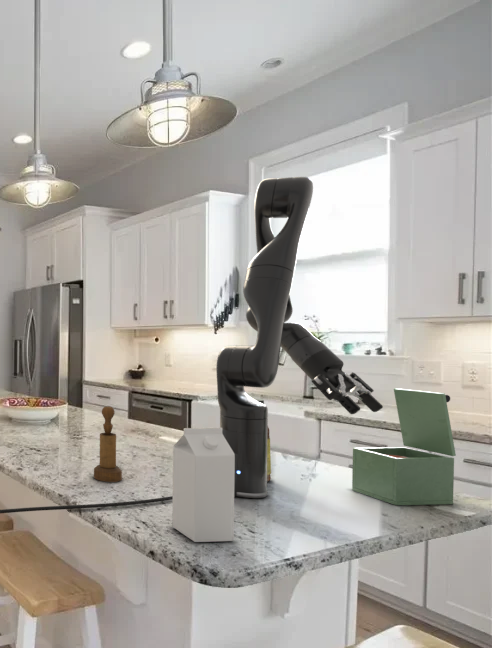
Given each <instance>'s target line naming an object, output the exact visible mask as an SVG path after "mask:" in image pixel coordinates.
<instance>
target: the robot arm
mask: <svg viewBox="0 0 492 648" xmlns="http://www.w3.org/2000/svg"><path fill="white" fill-rule="evenodd" d="M313 183H314V182H313V180H312V179H311V178H310V177H308V176H291V177H273V178H272V177H271V178H265V179H262V180H261V181H260V182H259V184H258V185H257V188H256V191H255V195H254V205H253V210H254V233H255V244H256V254H255V255H254V257H252V258H251V260H250V261H249V263H248V265H247V268H246V273H245V277H244V282H243V287H242V288H243V289H242V293H243V297H244V300H245V302H246V305H247V306H248V308H247V310H246V312H245V313H246V314H245V317H246V321H247V323H248V324H249V326H250V327H251V328H252V329H253V330H254V331H256V332H257V335H256V341H255V344H254V345H243V344H241V345H237V344H236V345H235V344H234V345H226V346H224V347H223V348H221V349H220V351H219V352H218V355H217V359H216V385H217V387H216V388H217V391H216V392H217V404H218V407H219V428H222V434H223V436H224V437H225V439H226V441H227V442H228V444H229V446H230V447H231V449H232V451H233V452H234V454H235V476H234V497H238V498H244V499H245V498H246V499H262V498H266V497H268V481H267V432H268V428H269V425H268V422H269V420H268V419H269V409H268V406H267V405H266V404H265V403H264V404H263V403H261V402H258V401H256V400H254V399H255V398H253V397H252V396H250V395H249V394H248V393H247V392H246V390H245V387H246V388H259V389H260V388H262V389H263V388H268V387H270V386H271V385H273V383H274V381H275V379H276V377H277V373H278V369H279V365H280V356H281V349H282V350H283V351H284V352H285V353H286V354H288V356H289V357H290V359H291V360H292V361H293V362H294V364H295V365H296V366H297V367H298V368H299V369H300V370H302V372H303V373H304V374H305V375H306V376H307V377H308V378H309V379H310V380H311V383H312V384H313V385H314V386H315V387H316V388H317V389H318V391H320V392H321V394H322V395H324V397H325V398H326V399H327V400H328V401H332V400H333V401H334V402H337V403H338V404H340V405H341V406H342V408H343V409H345V410H346V411H347V412H348V413H349V414H350V415H355V414H357V413H358V412H359V411H360V410H361V407H360V406H359V404H357V403H356V402H355V401H354V400H353V399H352V398H351V397H350V396H354V397H356V398H357V399H358V400H360V401H361V402H362V403H363V404H364V405H365V406H366V407H367V408H368V409H369V410H370V411H371V412H373V413H378V412H379V411H381V410H382V409H383V408H384V406H383V405H382V403H380V402H379V400H377V399H376V398H375V397H374V396H373V395H372V394H373V392H374V391H375V390H374V389H373V388H372V387H371V386H370V385H369V384H367V383H366V381H364V380H363V379H362V378H361V377H360V376H359V375H357V373H355V372H353V371H352V372H351V373H350V374H348V373H346V372H344V371H343V368H344V365H345V364H344V361H343V360H342V359H341V358H340V357H339V356H338V355H336V354H335V353H334V352H333V351H332V350H331V349H330V348H329V347H328V346H327V345H326V344H324V342H323V341H321V340H320V339H318V338H317V337H316V336H314V335H313V334H312V333H311V332H310V330H308V329H307V328H306V327H305V326H304V325H303V324H301V323H299V322H288V321H289V320H290V318H291V317H292V315H293V311H294V310H293V309H294V308H293V303H292V300H291V295H290V294H291V290H292V286H293V281H294V276H295V271H296V264H297V259H298V253H299V247H300V244H301V243H300V242H301V238H302V234H303V231H304V227H305V224H306V220H307V218H308V214H309V210H310V207H311V202H312V199H313V194H314V184H313ZM271 219H287V220H286V222H285V223H284V225H283V227H282V228H281V230H280V231H279V232H278V233H277V234H276V235H275V234H274V232H273V229H272V225H271ZM165 501H173V495H170V496H164V497H155V498H150V499H149V498H148V499H140V500H131V501H119V502H106V503H90V504H89V503H88V504H68V505H50V506H31V507H17V508H6V509H5V508H4V509H0V514H10V513H11V514H12V513H25V512H39V511H57V510H58V511H59V510H78V509H96V508H97V509H98V508H112V507H123V506H132V505H133V506H134V505H143V504H150V503H158V502H165Z"/></svg>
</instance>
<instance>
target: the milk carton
mask: <svg viewBox="0 0 492 648" xmlns="http://www.w3.org/2000/svg"><path fill="white" fill-rule="evenodd" d="M234 476H235V454H234V452H233V451H232V449H231V447H230V446H229V444H228V442H227V441H226V439H225V437H224V436H223V434H222V428H220V427H185V428H183V434H182V435H181V436H180V437H179V439H178V440H177V441H176V442H175V444H174V445H173V446H172V496H173V500H172V506H171V507H172V509H171V510H172V511H171V512H172V513H171V515H172V516H171V519H172V520H171V522H172V523H171V527H172V528H173V529H175V530H176V531H178V532H179V533H181V535H183V536H185V537H186V538H188V539H189V540H191V541H193V542H194V543H209V542H234V539H235V537H234V536H235V535H234V534H235V496H234Z"/></svg>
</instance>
